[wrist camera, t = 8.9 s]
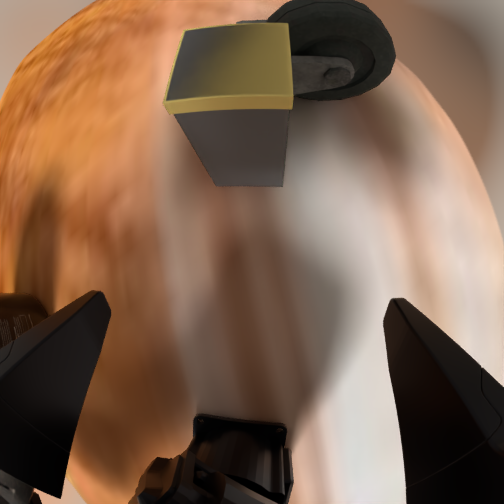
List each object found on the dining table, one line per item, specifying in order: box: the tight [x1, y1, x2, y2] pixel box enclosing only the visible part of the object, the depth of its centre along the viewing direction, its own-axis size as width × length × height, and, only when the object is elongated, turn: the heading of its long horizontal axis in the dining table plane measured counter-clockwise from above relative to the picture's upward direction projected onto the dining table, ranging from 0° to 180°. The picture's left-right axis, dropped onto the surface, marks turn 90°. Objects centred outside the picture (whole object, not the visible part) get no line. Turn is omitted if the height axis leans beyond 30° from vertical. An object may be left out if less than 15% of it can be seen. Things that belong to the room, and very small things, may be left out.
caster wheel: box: [236, 0, 396, 101], centre depth 15 cm, size 6×10×15 cm
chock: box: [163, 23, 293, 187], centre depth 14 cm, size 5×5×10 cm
